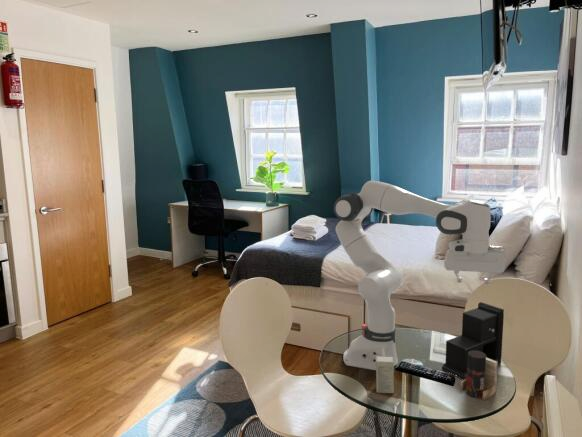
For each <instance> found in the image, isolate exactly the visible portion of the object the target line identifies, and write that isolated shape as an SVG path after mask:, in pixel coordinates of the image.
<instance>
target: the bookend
mask: <svg viewBox="0 0 582 437" xmlns="http://www.w3.org/2000/svg"><path fill="white" fill-rule="evenodd" d="M504 316H505V312H504V309H503V308H501V307H500V308H499V307H498V306H494V305H491V304H488V303H486V302H482V301H480V302H478V304H477V307H476V308H473V309H470V310H468V311H463V313H462V322H461V323H462V326H461V328H462V329H461V335H458V336H456V337H453V338H450V339H448V340H446V342H445V363H444V364H442V366H441V369H442V370H443V369H444V370H443V371H445V370H446V371H445V372H447V371H448V372H447V373H449V372H450V373H449V374H451V373H452V374H451V375H453V374H454V375H457V376H458V377H460V378H461V380H462V379H463V380H465V379H466V378H467V363H468V352H469V351H473V350H475V351H481V352H483V353H485V354H486V357H487V358H489V359H492V360H494V361H497V362H498V364H497V366H499V365H501V364H502V353H503V352H502V351H503V335H504V334H503V332H504ZM454 375H453V376H454ZM458 377H457V378H458ZM460 378H459V379H460ZM463 380H462V381H463Z"/></svg>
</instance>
